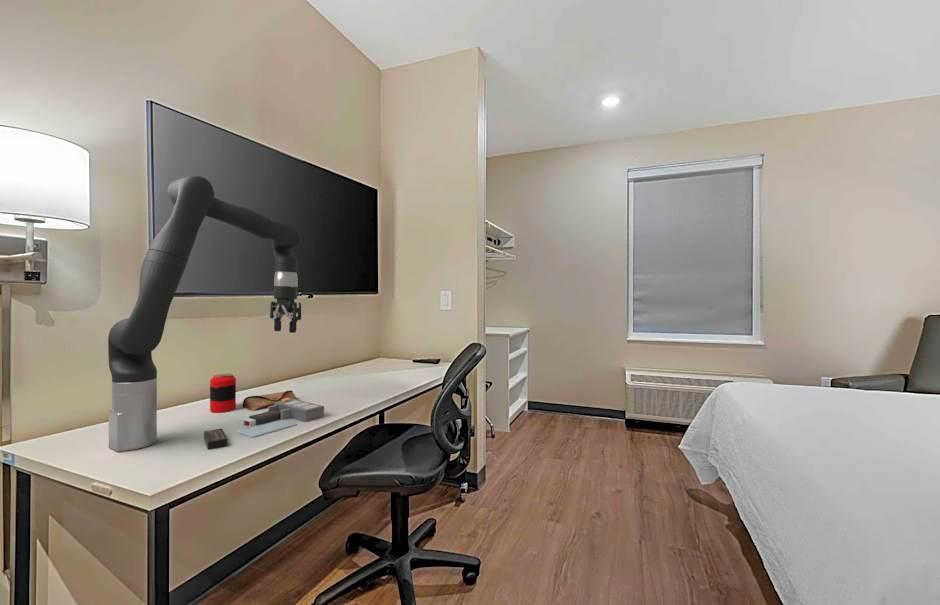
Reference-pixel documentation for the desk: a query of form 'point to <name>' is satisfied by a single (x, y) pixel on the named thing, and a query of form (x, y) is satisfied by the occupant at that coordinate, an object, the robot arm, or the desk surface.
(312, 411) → the grey stepped block
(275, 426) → the silicone mat
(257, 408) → the sunglasses case
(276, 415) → the usb drive
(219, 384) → the soda can
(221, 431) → the multiport hub
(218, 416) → the desk surface
